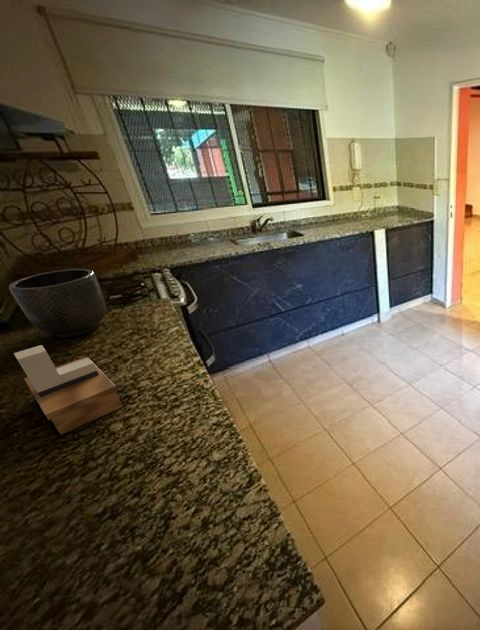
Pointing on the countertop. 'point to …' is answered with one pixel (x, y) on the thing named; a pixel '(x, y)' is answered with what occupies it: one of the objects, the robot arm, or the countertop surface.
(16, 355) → the black-striped white block
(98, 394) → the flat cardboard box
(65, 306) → the planter
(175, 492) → the countertop surface
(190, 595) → the countertop surface
